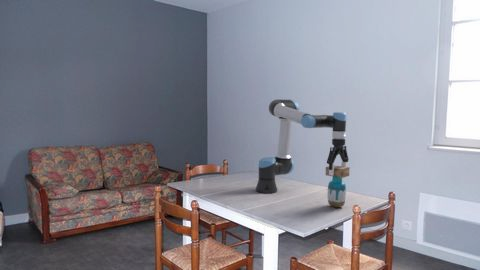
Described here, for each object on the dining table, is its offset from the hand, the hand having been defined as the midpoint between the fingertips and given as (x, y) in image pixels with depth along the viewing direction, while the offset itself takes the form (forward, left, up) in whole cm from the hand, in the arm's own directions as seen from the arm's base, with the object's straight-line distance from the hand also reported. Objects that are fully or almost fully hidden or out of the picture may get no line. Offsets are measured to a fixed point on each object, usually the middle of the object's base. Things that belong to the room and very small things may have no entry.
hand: (337, 173), depth 216 cm
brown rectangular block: (0, 0, -1) cm, 1 cm away
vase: (0, 0, -20) cm, 20 cm away
